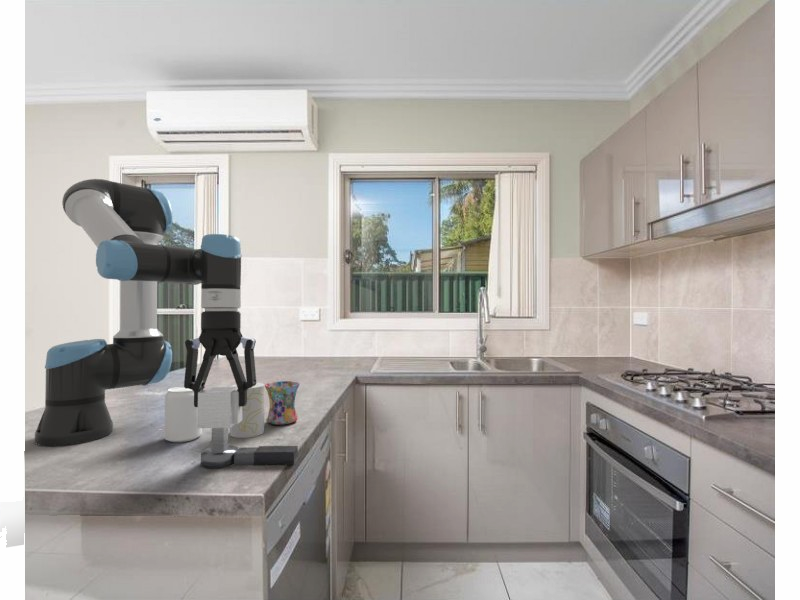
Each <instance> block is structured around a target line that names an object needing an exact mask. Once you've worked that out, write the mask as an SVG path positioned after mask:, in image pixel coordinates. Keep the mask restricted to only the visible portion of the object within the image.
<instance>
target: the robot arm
mask: <svg viewBox="0 0 800 600" xmlns="http://www.w3.org/2000/svg"><path fill="white" fill-rule="evenodd" d="M61 203H62V208H63V211H64V213H65V215H66V216H67V217H68V219H69V220H70V221H71V222H72V223H74V224H75V225H76V226H79V227H81V228H82V230H83V231H84V233H86V234H87V236H88V237H89V238H90V239H91V241H92V242H93V244H94V245H95V246H96V248H97V249H96V254H95V267H96V268H97V269H96V270H97V273H98V275H99V276H100V277H101V278H103V279H107V280H117V281H120V283H119V284H120V288H119V295H120V296H119V299H120V300H119V301H120V302H119V305H120V306H119V312H120V313H119V330H118V331H117V333H115V334H114V335H113V337H112V343H107V340H106V339H104V338H94V339H84V340H77V341H69V342H64V343H60V344H57V345H54V346H51V347H50V348H49V349H48V350H47V353H46V356H45V357H46V359H45V365H44V369H45V391H44V392H45V400H44V402H45V403H44V404H45V405H44V410H43V413H42V415H41V418H40V421H39V423H38V425H37V428H36V430H35V432H34V444H36V443H37V444H36V445H38V444H39V445H38V446H43V445H45V446H46V447H57V446H59V447H60V446H68V445H76V444H81V443H86V442H91V441H95V440H99V439H102V438H104V437H107V436H109V435H110V434H112V433H113V431H114V422H113V420H112V418H111V414H110V412H109V409H108V406H107V404H106V391H107V390H113V389H121V388H122V389H123V388H128V387H136V386H148V385H152V384H156V383H160V382H162V381H163V380H164V379H165V378H166V377H167V375H168V373H169V372H170V370H171V366H172V362H173V350H172V346H171V344H170V342H169V341H166V340H164V334H163V333H162V332H161V331H160V330H159V329H158V283H174V284H175V283H177V284H179V283H181V284H186V285H200V284H201V286H200V287H201V292H200V293H201V296H200V297H201V300H200V301H201V302H200V303H201V305H200V306H201V309H204V311H202V312H201V313H200V328H201V330H200V331H201V332H200V334H199V336H198V337H196V338H191V339H186V340H185V341H184V345H185V348H186V349H185V350H186V359H185V360H186V361H185V373H184V380H183V386H184V387H185V388H186V389H187V388H189V389H191V390H193V391H194V406H195V407H198V392H200V391H203V390H205V389H206V382H207V379H208V376H209V375H210V370H211V368H212V365H213V362H214V360H215V358H216V356H223V357H225V358H226V360H227V361H228V364H229V367H230V369H231V373H232V375H233V378H234V382H235V384H236V385H237V388H238V390H237V391H235V392H234V424H238V423H240V422H241V421H242V406H245V405H246V404H247V389H248V388H251V387H253V386H255V385H256V383H257V373H256V361H255V352H254V350H255V346H256V339H255V338H247V337H244V336H243V334H242V333H241V332H242V331H241V328H242V327H241V323H242V321H241V320H242V319H241V317H242V316H241V314H242V313H241V312H240V311H239V310H238V309H241V308H242V307H241V305H242V304H241V303H242V301H241V298H242V297H241V294H242V292H241V285H242V283H241V282H242V279H241V278H242V252H241V249H242V248H241V240H240V239H239V238H238V236H237V237H236V236H234V235H232V234H231V235H230V234H223V233H222V234H220V233H216V234H215V233H209V234H205V235H203V237H202V238H201V244H200V248H186V247H177V246H168V245H159V242H161V241H162V240H163V239H164V235H165V234H167V233H169V231H170V230H171V228H172V223H173V219H174V218H173V210H172V208H173V207H172V205H171V202H170V200H169V198H168V197H167V195H165V194H164V193H163V192H162V191H158V190H154V189H151V188H149V187H142V186H137V185H133V184H127V183H121V182H116V181H111V180H108V179H103V178H102V179H101V178H100V179H99V178H92V179H84V180H82V181H78V182H76V183H74V184H72V185H71V186H70V187H68V189H66V191H65V192H64V194H63V197H62V202H61ZM241 344H242V345H241ZM240 345H241V346H242V348H243V350H244V351H243V355H244V365H245V366H244V367H245V373H244V371H243V367H242V365H241V362H240V360H239V359H240V358H239V354H238V350H237V349H238V347H239V346H240ZM201 346H202V347H203V348H204V349H205V350H204V352H203V356H202V361H201V364H200V366H199V370H198V369H197V368H198V360H199V359H198V358H199V348H200V347H201ZM197 370H198V372H197Z"/></svg>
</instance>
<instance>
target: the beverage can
mask: <svg viewBox="0 0 800 600" xmlns="http://www.w3.org/2000/svg"><path fill="white" fill-rule="evenodd" d="M202 434H203V428H198V407H195V406H194V391H193V390H191V389H189V388H187V389H186V388H185V387H184V385H183V386H177V387H170V388H168V389H167V392H166V393H165V396H164V440H166V441H169V442H170V443H171V442H172V443H185V442H191V441H193V440H194V441H195V440H196V439H197V438H198V437H200V436H202Z"/></svg>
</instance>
